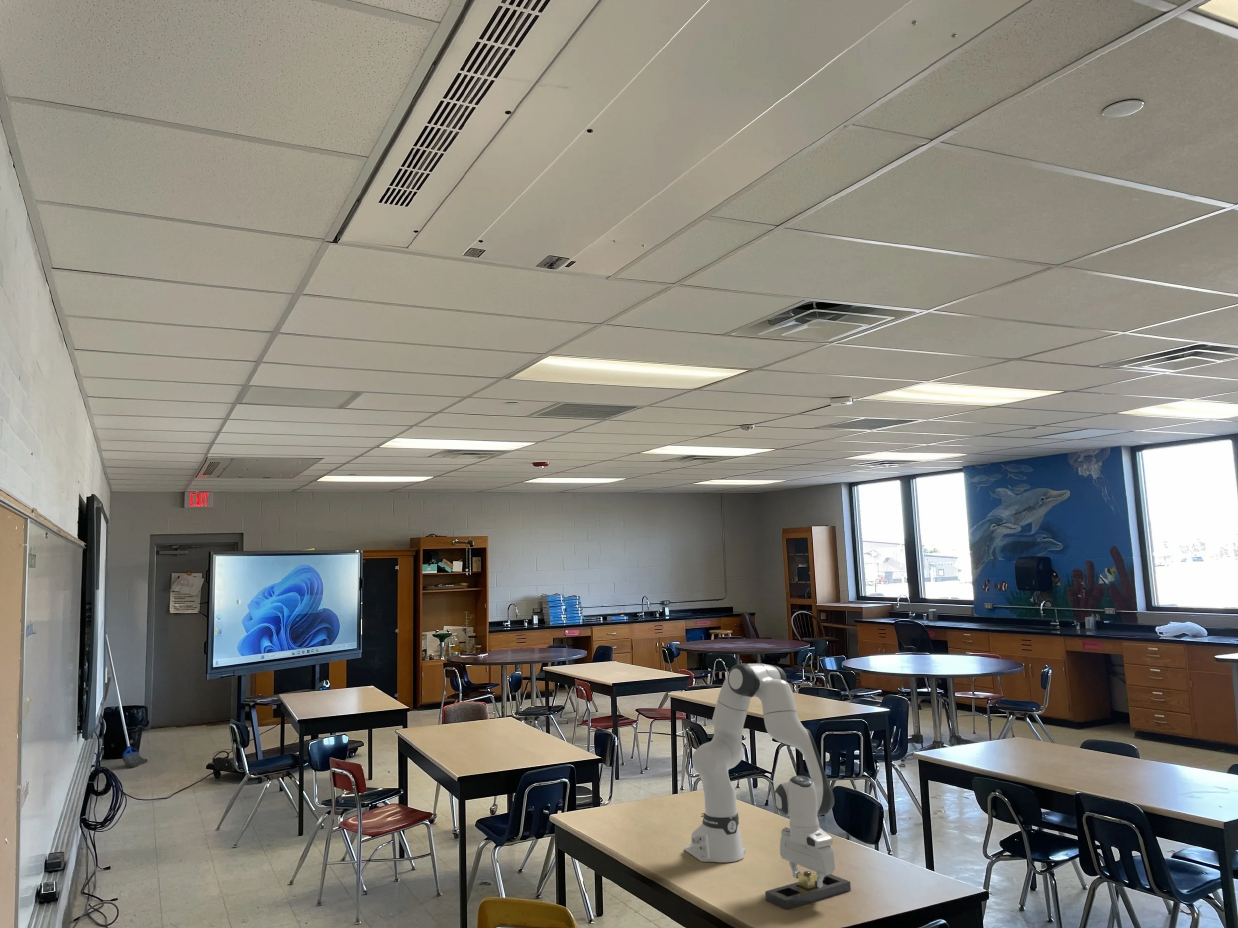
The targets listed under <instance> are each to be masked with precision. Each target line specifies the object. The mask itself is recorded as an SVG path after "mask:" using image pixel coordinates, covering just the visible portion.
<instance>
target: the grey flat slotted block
mask: <svg viewBox="0 0 1238 928" xmlns="http://www.w3.org/2000/svg"><path fill="white" fill-rule="evenodd" d="M817 878H818V876H817ZM849 891H850V892H851V891H852V888H851V881H850V880H847V879H845V878H842V877H839V876H837V875H834V874H833V873H832V874H829V875H825V877H824V879H823V886H822V887H820V888H819V887H818V888H817V889H813V890H810V891H807V890H804V889H802V888H800V887H799V881H797V882H794V883H793V882H792V883H790V884H786V885H783V886H780V887H775V888H772V889H769V890H765V891H764V894H765V901H767V902H768V903H771V904H773V905H775V906H777V907H780V908H782V909H784V910H785V911H786V910H791V909H794V908H797V907H800V906H803V905H804V906H805V905H807V904H811V903H814V902H817V901H821V900H823V899H827V898H830V897H833V896H837V895H839V894H843V893H846V892H849Z"/></svg>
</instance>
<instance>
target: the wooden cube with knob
mask: <svg viewBox="0 0 1238 928" xmlns="http://www.w3.org/2000/svg"><path fill="white" fill-rule="evenodd" d="M817 877H818V876H817V873H813V872H811V871H809V870H807V871H806V870H805V871H803V872H800V873H799V874H798V882H799V887H800V888H802V889H804V890H807V891H810V890H813V889H817V888H818V887H816V886H815V880H817Z"/></svg>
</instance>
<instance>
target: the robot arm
mask: <svg viewBox="0 0 1238 928" xmlns="http://www.w3.org/2000/svg"><path fill="white" fill-rule="evenodd" d="M753 697H754V698H758V699H759V700H760V701H761V705H762V706H761V707H762V715H763V722H764V727H765V729H766V732H767V734H768V735H769V736H770V737H771V738H773V739H774V740H775V741H777V742H778V743H781V744H785V745H788V746H791V747H793V748H795V749H797V750H798V751H799V752H800V753H801V754H802V755H803V758H804V761H805V763H806V767H807V770H808V773H809V776H810V777H809V776H804V775H795V776H792V777H790V778H789V780H788V782H783V783H780V784H779V785H778V786H777V787H776V788H775V790H774V804H775V805H774V806H775V809H777V811H778V812H780V813H781V814H782V815H783V816H788V817H789V827H787V826H786V827H783V828H782V830H781V831H780V834H781V835H780V842H779V854H780V857H781V859H783V860H785V861H787V862H788V865H789V867H790V869H791V871H792V877H793V878H795V879H798V874H799V873H801V871H799V868H798V866H799V867H800V866H801V867H803V868H806V869H809V870H811V871H814V872H816V874H817V877H818V878H817V880H815V886H816V887H819V888H820V887H822V886H823V879H824V877H825V875H829V874H832V875H833V874H834V872H835V870H836V868H835V867H836V865H835V864H836V862H835V853H834V852H835V851H834V849H833V847H832V845H834V844H833V838H832V837H831V835H829V834H828V833H826V832H825V831H824V830H823V829H822V828H821V827H820V820H819V818H818V815H822V816H823V815H824V816H825V815H827V814H828V813H829V812H830V811H831V810H832V809H833V808H834V805H835V796H834V792H833V789H832V787H831V784H830V782H829V781H828V778H827V775H826V773H825V770H824V766H823V763H822V760H821V757H820V754H819V751H818V748H817V745H816V742H815V740H814V737H813V735H812V733H811V731H810V730H809V729H807V728H806V727H804V725H803V724H802V722H801V720H800V718H799V716H798V709H797V704H796V700H795V697H794V693H793V690H792V688H791V685H790V683H788V679H787V674H786V673H785V671H784V670H783V668H781V667H780V666H777V665H773V664H765V663H759V662H757V663H745V662H743V663H737V664H734V665H733V666H732V667H731V668H730V670H729V671H728V674H727V676H726V678H725V679H724V681H723V683H722V686H721V688H720V691H719V693H718V697H717V700H716V704H715V708H714V710H713V711H714V712H713V716H712V720H711V721H712V724H713V725H714V726H713V728H714V729H713V730H714V731H713V737H712V739H711V741H708V742H705V743H702V744H701V745H699V747H697V748H696V750H694V752H693V754H692V756H691V757H692V758H691V763H692V766H693V769H694V770H695V772H696V773H697V774H698V775H699V777H700V781H701V784H702V787H703V795H704V796H703V797H704V810H705V811H704V812H703V813H701V816H700V818H702V823H701V824H700V825H699V826H698V827H697V828H696V829H693V831H692V832H691V837H690V838H691V839H690V841H691V842H690V844H687V845H686V846H684V851H685V852H686V853H688V854H689V855H692V856H693V857H694V858H695V859H697V860H699V861H700V862H702V863H703V862H705V863H709V862H711V863H733V862H738V861H740V860H742V859H743V858H744V857H745V855H744V854H745V852H746V848H745V847H744V846H743V839H742V832H741V827H740V826H739V824H740V821H739V820H740V819H739V818H740V817H739V812H738V809H737V791H736V789H735V787H734V786H733V785H732V781H731V780H730V776H729V770H731V769H733V768H735V767H736V766H737V765H739V764H740V762H741V761H742V760H743V757H744V752H745V749H744V747H743V744H742V743H743V730H744V726H745V721H746V718H747V715H748V711H749V706H750V702H751V699H752V698H753ZM797 865H798V866H797Z"/></svg>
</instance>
